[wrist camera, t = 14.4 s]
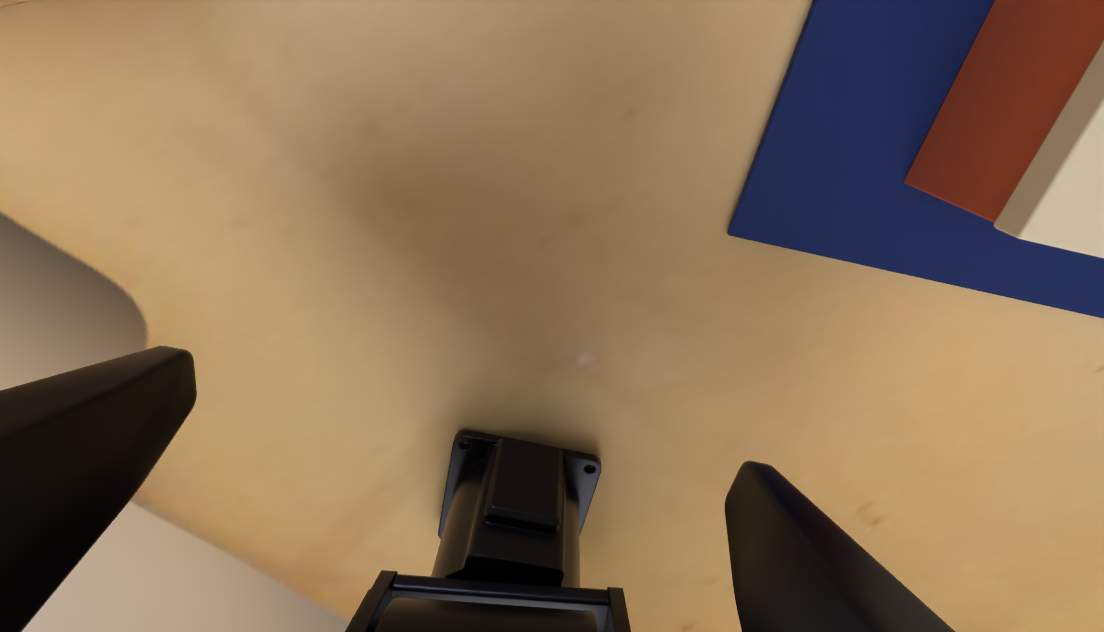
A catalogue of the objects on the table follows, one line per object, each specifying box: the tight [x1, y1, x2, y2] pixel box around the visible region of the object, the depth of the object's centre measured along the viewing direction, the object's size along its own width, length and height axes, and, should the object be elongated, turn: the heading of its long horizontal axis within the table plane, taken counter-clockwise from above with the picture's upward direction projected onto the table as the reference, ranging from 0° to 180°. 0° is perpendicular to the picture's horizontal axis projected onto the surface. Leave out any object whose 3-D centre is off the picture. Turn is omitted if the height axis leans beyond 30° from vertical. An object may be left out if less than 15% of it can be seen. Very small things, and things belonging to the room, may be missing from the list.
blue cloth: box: [727, 0, 1104, 318], centre depth 16 cm, size 16×16×1 cm
